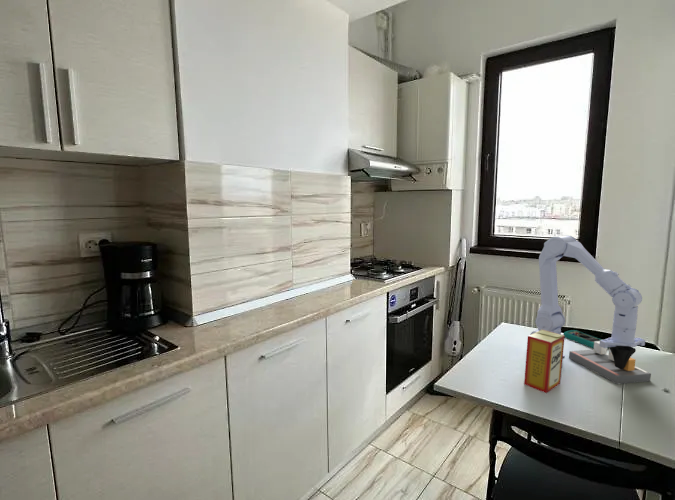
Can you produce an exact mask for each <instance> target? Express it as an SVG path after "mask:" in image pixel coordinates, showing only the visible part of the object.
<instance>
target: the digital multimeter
mask: <svg viewBox="0 0 675 500" xmlns="http://www.w3.org/2000/svg"><path fill="white" fill-rule="evenodd" d="M562 335H565V338H564V339H567V340H571V341H573V342H576V343H578V344H581V345H583V346H586V347H588V348H591V349H592V350H594V342H595V341H600V340H603V339H602V338H599V337H596V336H593V335H590V334H587V333H586V332H585V333H584V332H582V331H579V330H577V329H576V330H575V329H573V330H572V329H571V330H567V331H564V332H563V333H562ZM608 348H609V347H607V349H608Z"/></svg>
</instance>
